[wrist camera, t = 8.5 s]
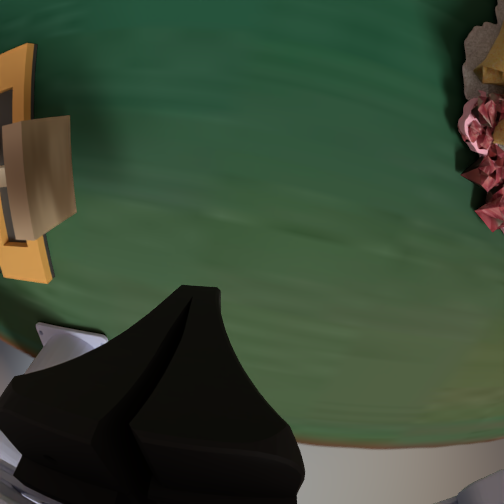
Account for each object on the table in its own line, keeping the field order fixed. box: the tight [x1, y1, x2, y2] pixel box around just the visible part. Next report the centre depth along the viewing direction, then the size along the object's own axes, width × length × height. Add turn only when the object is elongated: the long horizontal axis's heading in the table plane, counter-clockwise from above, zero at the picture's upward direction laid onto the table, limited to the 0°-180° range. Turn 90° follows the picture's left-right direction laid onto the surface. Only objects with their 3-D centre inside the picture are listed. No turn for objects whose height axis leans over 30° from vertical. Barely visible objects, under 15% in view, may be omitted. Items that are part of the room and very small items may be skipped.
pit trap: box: [0, 43, 55, 284], centre depth 17 cm, size 18×6×1 cm, turn 177°
